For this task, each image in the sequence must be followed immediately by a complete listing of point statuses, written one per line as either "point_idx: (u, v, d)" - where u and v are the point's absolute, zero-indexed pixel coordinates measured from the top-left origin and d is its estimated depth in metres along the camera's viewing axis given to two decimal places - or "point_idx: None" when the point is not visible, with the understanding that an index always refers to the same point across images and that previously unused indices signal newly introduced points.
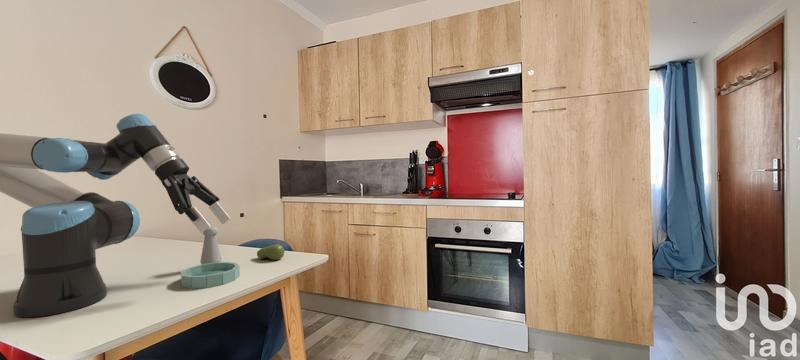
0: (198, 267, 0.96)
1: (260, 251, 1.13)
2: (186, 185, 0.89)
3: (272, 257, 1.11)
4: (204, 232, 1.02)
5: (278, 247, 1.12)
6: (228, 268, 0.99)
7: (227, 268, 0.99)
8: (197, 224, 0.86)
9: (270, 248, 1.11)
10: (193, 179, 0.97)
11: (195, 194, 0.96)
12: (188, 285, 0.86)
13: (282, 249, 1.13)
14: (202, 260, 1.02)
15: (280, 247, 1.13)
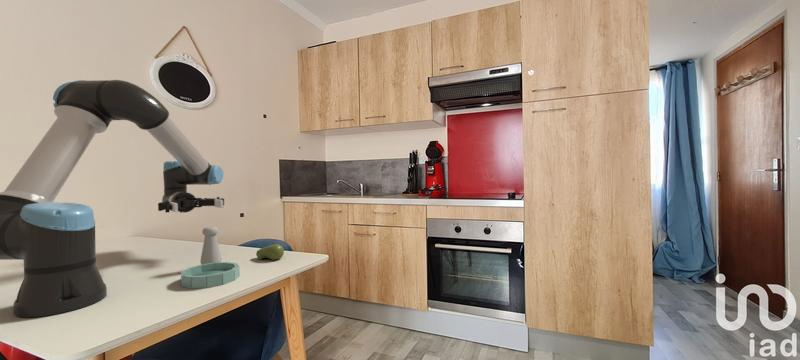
0: (198, 267, 0.96)
1: (259, 251, 1.13)
2: None
3: (272, 257, 1.11)
4: (204, 232, 1.02)
5: (278, 247, 1.12)
6: (228, 268, 0.99)
7: (227, 268, 0.99)
8: None
9: (270, 248, 1.12)
10: None
11: (178, 202, 1.15)
12: (188, 285, 0.86)
13: (282, 249, 1.13)
14: (202, 260, 1.02)
15: (280, 247, 1.13)
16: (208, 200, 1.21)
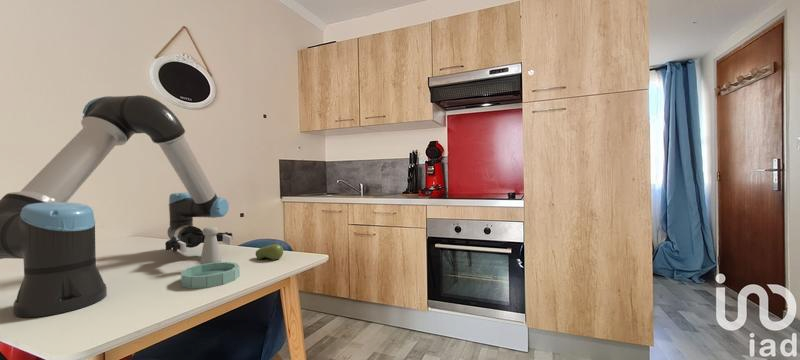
0: (198, 267, 0.96)
1: (259, 251, 1.14)
2: None
3: (271, 257, 1.11)
4: (204, 232, 1.02)
5: (277, 247, 1.12)
6: (228, 268, 0.99)
7: (227, 268, 0.99)
8: None
9: (269, 248, 1.12)
10: None
11: (186, 239, 1.12)
12: (188, 285, 0.86)
13: (281, 249, 1.13)
14: (202, 260, 1.02)
15: (279, 247, 1.13)
16: (216, 235, 1.17)
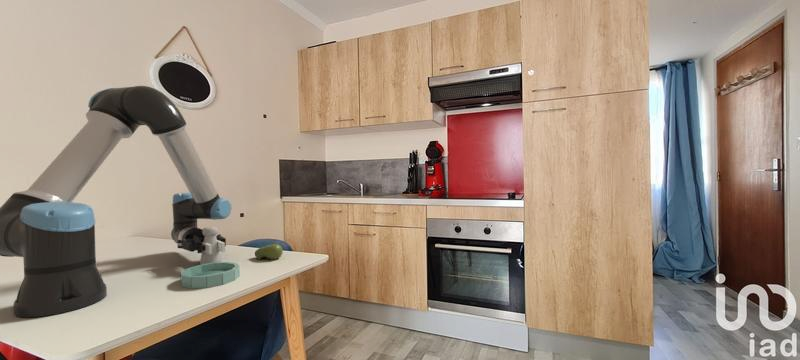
0: (198, 267, 0.96)
1: (258, 251, 1.14)
2: None
3: (271, 256, 1.12)
4: (204, 232, 1.02)
5: (276, 247, 1.13)
6: (228, 268, 0.99)
7: (227, 268, 0.99)
8: None
9: (268, 248, 1.12)
10: None
11: None
12: (188, 285, 0.86)
13: (280, 248, 1.14)
14: (202, 260, 1.02)
15: (278, 246, 1.13)
16: None
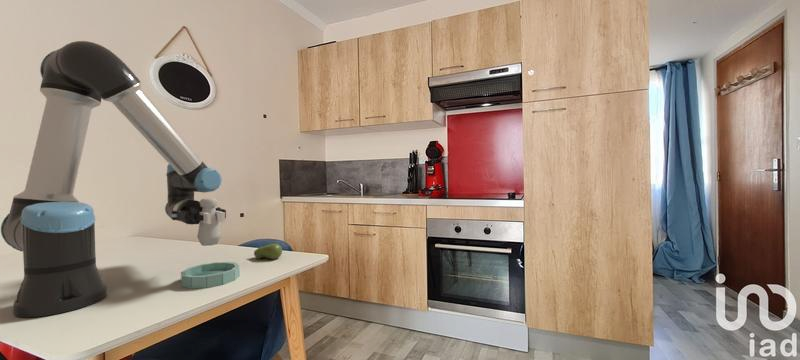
0: (198, 267, 0.96)
1: (257, 251, 1.14)
2: None
3: (270, 256, 1.12)
4: (201, 203, 0.91)
5: (276, 246, 1.13)
6: (228, 268, 0.99)
7: (227, 268, 0.99)
8: None
9: (268, 247, 1.12)
10: None
11: None
12: (188, 285, 0.86)
13: (280, 248, 1.14)
14: (199, 235, 0.90)
15: (278, 246, 1.14)
16: None
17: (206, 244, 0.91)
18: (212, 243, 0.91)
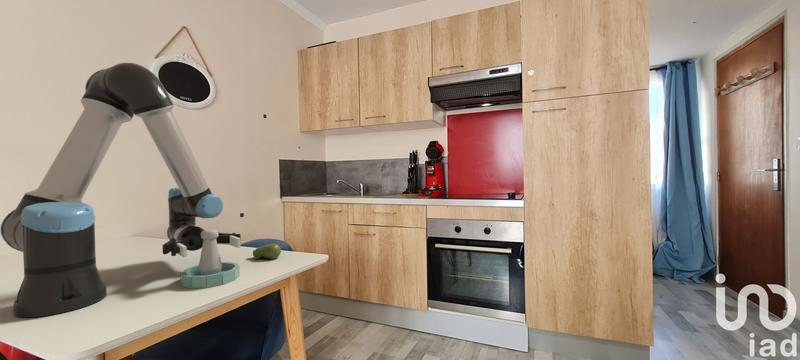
0: (198, 267, 0.96)
1: (256, 250, 1.14)
2: None
3: (269, 256, 1.12)
4: (202, 235, 0.91)
5: (275, 246, 1.14)
6: (228, 268, 0.99)
7: (227, 268, 0.99)
8: None
9: (267, 247, 1.13)
10: None
11: (187, 241, 0.96)
12: (188, 285, 0.86)
13: (279, 248, 1.14)
14: (200, 267, 0.90)
15: (277, 246, 1.14)
16: (222, 237, 1.01)
17: None
18: None
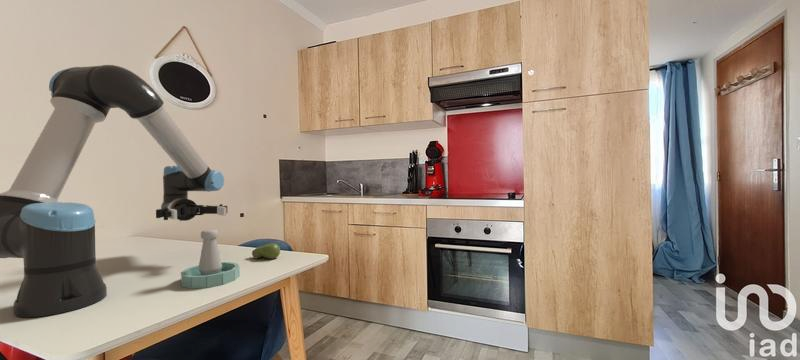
0: (198, 267, 0.96)
1: (256, 250, 1.14)
2: (200, 214, 1.13)
3: (269, 256, 1.13)
4: (202, 235, 0.91)
5: (274, 246, 1.14)
6: (228, 268, 0.99)
7: (227, 268, 0.99)
8: None
9: (266, 247, 1.13)
10: None
11: (178, 209, 1.07)
12: (188, 285, 0.86)
13: (278, 248, 1.15)
14: (200, 267, 0.90)
15: (276, 246, 1.14)
16: (210, 207, 1.12)
17: None
18: None
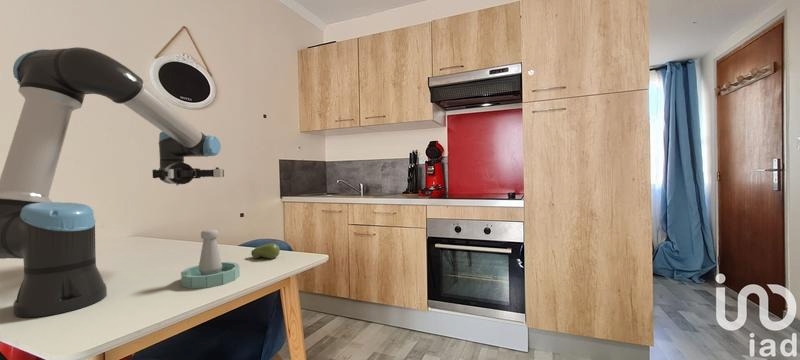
0: (198, 267, 0.96)
1: (255, 250, 1.14)
2: None
3: (268, 256, 1.13)
4: (202, 235, 0.91)
5: (274, 246, 1.14)
6: (228, 268, 0.99)
7: (227, 268, 0.99)
8: None
9: (266, 247, 1.13)
10: None
11: (174, 171, 1.07)
12: (188, 285, 0.86)
13: (278, 248, 1.15)
14: (200, 267, 0.90)
15: (276, 246, 1.15)
16: (207, 170, 1.13)
17: None
18: None
